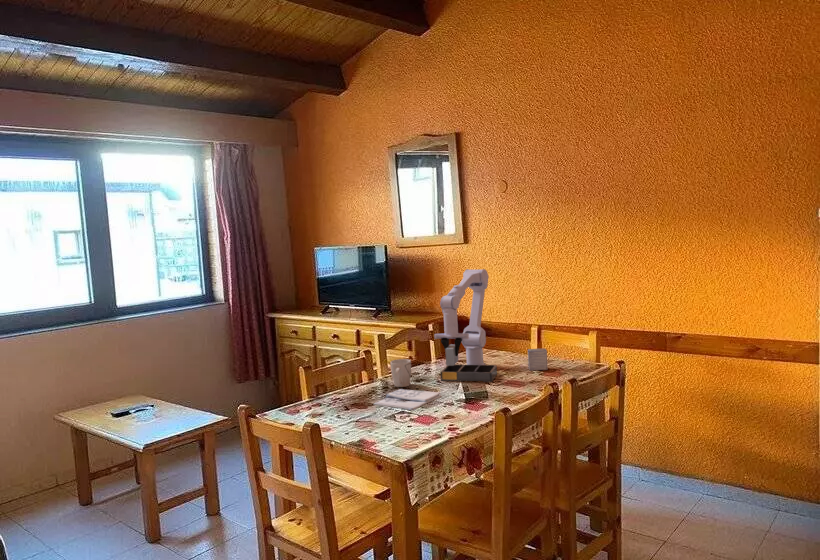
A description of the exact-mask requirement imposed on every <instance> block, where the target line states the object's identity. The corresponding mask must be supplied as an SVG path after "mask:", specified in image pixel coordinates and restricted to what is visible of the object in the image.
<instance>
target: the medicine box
mask: <svg viewBox="0 0 820 560" xmlns="http://www.w3.org/2000/svg"><path fill="white" fill-rule="evenodd" d="M527 361H528V362H527V366H528V367H527V368H528V369H529V370H528V371H547V370H549V369H548V351H547V348H528V349H527Z"/></svg>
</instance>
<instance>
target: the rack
mask: <svg viewBox="0 0 820 560" xmlns="http://www.w3.org/2000/svg"><path fill="white" fill-rule="evenodd" d="M497 374H498V369H497V364H485V365H467V364H455V365H454V366H445V367H444V368H443V369H442V370H441V371H440V381H441V382H463V381H483V382H482V383H493V382H494V379H495V378H496V376H497Z"/></svg>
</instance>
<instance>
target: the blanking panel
mask: <svg viewBox="0 0 820 560" xmlns="http://www.w3.org/2000/svg"><path fill="white" fill-rule="evenodd" d="M444 350H445V351H444V352H445V365H446V366H454V365H457V363H458V362H459V355H458V356H456V355H455V344H449V346H448V347H447V348H446V349H445V348H444ZM446 366H445V367H446Z"/></svg>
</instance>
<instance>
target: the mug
mask: <svg viewBox="0 0 820 560" xmlns="http://www.w3.org/2000/svg"><path fill="white" fill-rule="evenodd" d="M390 370H391V376H392V380H393V381H392V382H393V385H394V387H396V388H405V387H406V388H407V387H409V386H410V384H411V376H412V360H411V359H408V358H398V359H393V360H391V361H390Z"/></svg>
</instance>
